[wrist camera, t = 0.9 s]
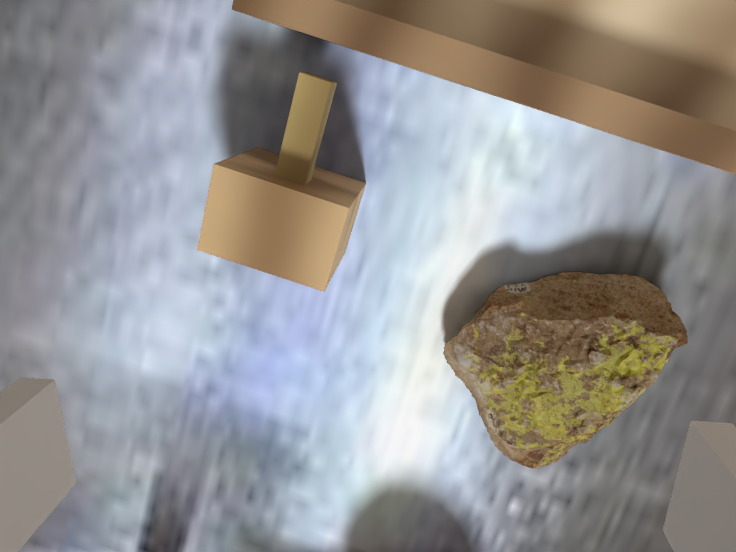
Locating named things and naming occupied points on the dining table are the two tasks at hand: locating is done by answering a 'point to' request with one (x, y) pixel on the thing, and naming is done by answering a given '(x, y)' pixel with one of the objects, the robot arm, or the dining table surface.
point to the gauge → (284, 199)
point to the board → (559, 58)
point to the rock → (562, 358)
